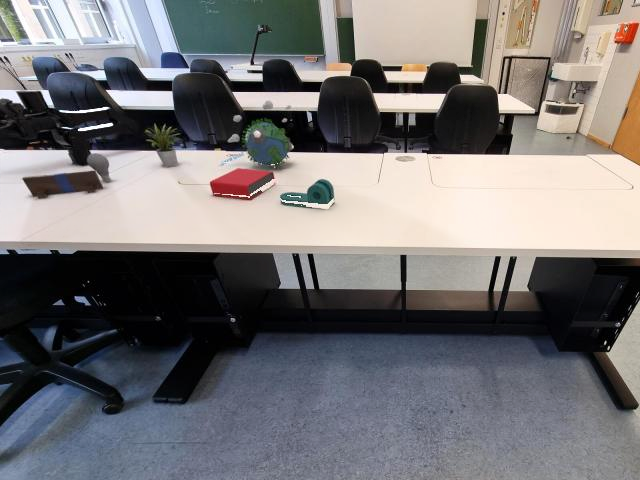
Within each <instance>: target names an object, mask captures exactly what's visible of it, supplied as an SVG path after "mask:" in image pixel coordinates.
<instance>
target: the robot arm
mask: <svg viewBox="0 0 640 480" xmlns="http://www.w3.org/2000/svg"><path fill="white" fill-rule="evenodd" d="M15 93H16V95H17V96H18V98H19V100H20V102H14V101H13V100H11V99H9V98H3V97H2V98H0V111H1V112H2V113H3V114H5V115H4V117H2V116H0V137H5V138H6V137H8V138H14V139H21V140H31V141H32V140H36V139H37V137H38V134H41V133H42V132H49V131H51V133H52V137H53V140H55V142H56V143H58V144H60V145H61V146H62V147H63V148H64V149H66V150H67V152H68V153H67V155H68V156H69V159H70V160H71V162H72V163H71V164H72V165H75V166H81V167H84V166H89V164H88V163H87V158H88V156H89V155H90V154H92V152H91V150H90V149H91V143H90V141H88V140H93V139H97V138H102V137H107V136H111V135H112V136H113V135H117V134H118V135H119V134H129V135H130V134H131V135H133V134H138V133H139V132H140V125H139V123H138V122H137V121H135V120H134V119H131V118H130V117H128V116H125V115H124V114H122V113H120V112H118V111H117V110H115V109H114V108H111V107H102V108H94V109H86V110H79V111H78V110H77V111H69V110H58V109H57V108H55V107H49V105H48V103H47V101H46V100H45V97H44V95H43V92H42V91H41V90H26V89H25V90H16V91H15ZM24 109H25V110H27V111H30V113H32V114H24ZM33 113H34V114H33ZM102 120H108V121H109V122H110V123H106V124H100V125H95V126H88V127H84V128H79V126H81V125H82V124H85V123H88V122H97V121H102Z"/></svg>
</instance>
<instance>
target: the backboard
mask: <svg viewBox="0 0 640 480" xmlns="http://www.w3.org/2000/svg"><path fill="white" fill-rule="evenodd" d="M21 180H22V181H23V182H24V184H25V187H26V188H27V189H28V191H29V192H30V194H31V195H32V197H37V198H38V200H39V199H47V198H48V197H49V196H53V195H61V194H62V195H63V194H70V193H78V192H87V194H91V193H96V191H97V190H104V185H103V184H102V180H101V179H100V177H99V174H98V173H97V172H96V171H95V170H88V171H87V170H85V171H77V172H75V171H74V172H61V173H53V174H40V175H39V174H37V175H33V176H23V177H22V178H21Z"/></svg>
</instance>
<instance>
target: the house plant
mask: <svg viewBox="0 0 640 480" xmlns="http://www.w3.org/2000/svg"><path fill="white" fill-rule="evenodd" d="M153 125H154V129H152V128H150V127H149V128H146V129H145V131H144V133H145V134H146V135H148V136H149V137H150V138H152V139H146V140H145V141H147V142H151V146H152V148H155V146H156V147H158V148H157V149H156V150H155V152H156V154H157V156H158V158H159V160H160V161H161V163H162V165H163V166H164V167H166V168H172V167H176V166H178V165H179V164H178V158H177V157H178V156H177V152H176V148H174V147H171V146H172V145H174V146H175V143H176V142H177V141H178V142H180V141H181V140H179V137H177V138H173V137H176V136H178V135H179V133H174V132H176V131H175V130H176V128H174V129H172V130H171V128H172V126H170V127H169V128H167V130H165V128H166V124H164V125H163V127H162V129H161V131H160V129H159V128H158V126H157V125H156V123H155V122H154V124H153ZM148 129H150V130H151V131H152V132H151V131H150V130H148ZM172 133H173V134H172ZM181 134H182V133H180V135H181Z"/></svg>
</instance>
